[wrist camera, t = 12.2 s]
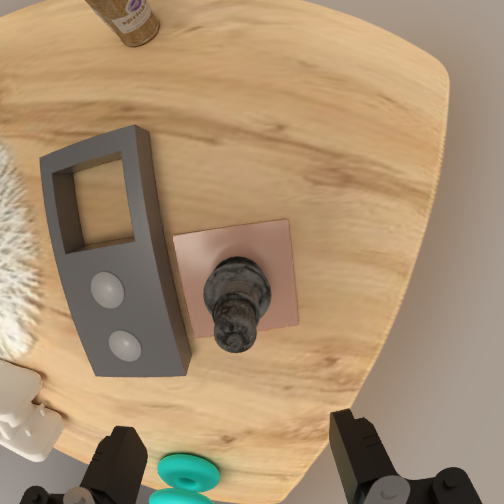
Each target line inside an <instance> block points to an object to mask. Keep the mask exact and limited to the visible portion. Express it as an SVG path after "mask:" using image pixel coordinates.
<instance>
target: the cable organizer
mask: <svg viewBox="0 0 504 504" xmlns="http://www.w3.org/2000/svg"><path fill="white" fill-rule="evenodd" d="M42 388H43V382H42V379H41V377H40V375H39V374H38V373H36V372H35V371H33V370H30V369H26V368H21V367H19V366H16V365H13V364H11V363H9V362H6V361H3V360H0V444H1V445H3V446H4V447H6V448H8V449H10V450H12V451H14V452H15V453H17V454H19V455H21V456H23V457H25V458H27V459H29V460H31V461H34V462H41V461H43V460H45V459H46V457H47V456H48V454H49V452H50V451H51V449H52V447H53V446H54V444H55V442H56V441H57V439H58V438H59V436H60V434H61V433H62V431H63V430H64V428H65V423H64V421H63V419H62V417H61V415H60V414H59V413H57V412H55V411H53V410H51V409H48V408H45V406H46V405H43V403H42V404H41V405H35V404H33V403H32V402H31V401H32V400H33V399H34V397H35V396H36V395H37V394H38V393H39V391H40V390H41V389H42Z"/></svg>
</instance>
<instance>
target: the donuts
mask: <svg viewBox="0 0 504 504" xmlns="http://www.w3.org/2000/svg"><path fill="white" fill-rule="evenodd" d="M157 470H158V474H159V476H160V477H161V479H162V480H163V481H164V482H165V483H167V484H168V485H170V486H171V487H173V488H166V489H161V490H158V491H156V492H154V493H153V494H152V495H151V496H150V498H149V504H215V503H214V502H213V501H212V500H210V499H209V498H207V497H206V496H204V495H202V494H199V493H197V492H205V491H208V490H211V489H213V488H214V487H215V486H216V485H217V484H218V483H219V480H220V474H219V471H218V470H217V468H216V467H215V466H214V465H213V464H212V463H210V462H208V461H207V460H205V459H202V458H200V457H196V456H192V455H186V454H175V455H170V456H167V457H165V458H163V459H162V460H161V461H160V462H159V464H158V467H157Z"/></svg>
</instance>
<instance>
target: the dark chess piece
mask: <svg viewBox="0 0 504 504" xmlns="http://www.w3.org/2000/svg"><path fill="white" fill-rule="evenodd" d="M271 296H272V294H271V287H270V284H269V282H268V280H267V278H266V277H265V276H264V273H263V271H262V269H261V268H260V267H259V265H258V264H257V263H255V262H254V261H253V260H251V259H248V258H246V257H240V256H235V257H230V258H227V259H225V260H223V261H222V262H220V263H219V264H218V265H217V266H216V268H215V269H214V271H213V273H211V275H210V276H209V278H208V279H207V280H206V283H205V286H204V291H203V298H204V303H205V306H206V308H207V310H208V311H209V313H210V314H211V315H212V318H213V322H214V324H215V325H214V337H215V341H216V342H217V344H218V345H219V346H220V347H221V348H222V349H224V350H225V351H228V352H231V353H241V352H244V351H246V350H248V349H249V348H251V346H252V345H253V344H254V342H255V339H256V335H257V330H256V327H257V326H258V323H259V321H260V318H262V317H263V315H264V314H265V313H266V312H267V310H268V308H269V306H270V303H271Z"/></svg>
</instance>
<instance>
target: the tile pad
mask: <svg viewBox="0 0 504 504" xmlns="http://www.w3.org/2000/svg"><path fill="white" fill-rule="evenodd" d="M173 242H174V247H175V252H176V257H177V262H178V267H179V272H180V277H181V281H182V286H183V291H184V295H185V300H186V304H187V308H188V313H189V317H190V321H191V325H192V329H193V333H194V337H195V338H201V337H212V336H214V325H215V324H214V322H213V318H212V315H211V314H210V313H209V311H208V310H207V308H206V306H205V303H204V298H203V291H204V286H205V283H206V280H207V279H208V278H209V276H210V275H211V273H213V271H214V269H215V268H216V266H217V265H218V264H219V263H220V262H222V261H223V260H225V259H227V258H230V257H235V256H240V257H246V258H248V259H251V260H253V261H254V262H255V263H257V264H258V265H259V267H260V268H261V269H262V271H263V273H264V276H265V277H266V278H267V280H268V282H269V284H270V287H271V294H272V296H271V303H270V306H269V308H268V310H267V312H266V313H265V314H264V315H263V317H262V318H260V321H259V323H258V326H257V327H256V330H257V331H262V330H269V329H276V328H283V327H289V326H296V325H299V323H298V311H297V300H296V289H295V279H294V269H293V259H292V250H291V240H290V232H289V223H288V219H281V220H273V221H266V222H259V223H251V224H244V225H237V226H230V227H223V228H217V229H210V230H203V231H197V232H190V233H184V234H177V235H173Z"/></svg>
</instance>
